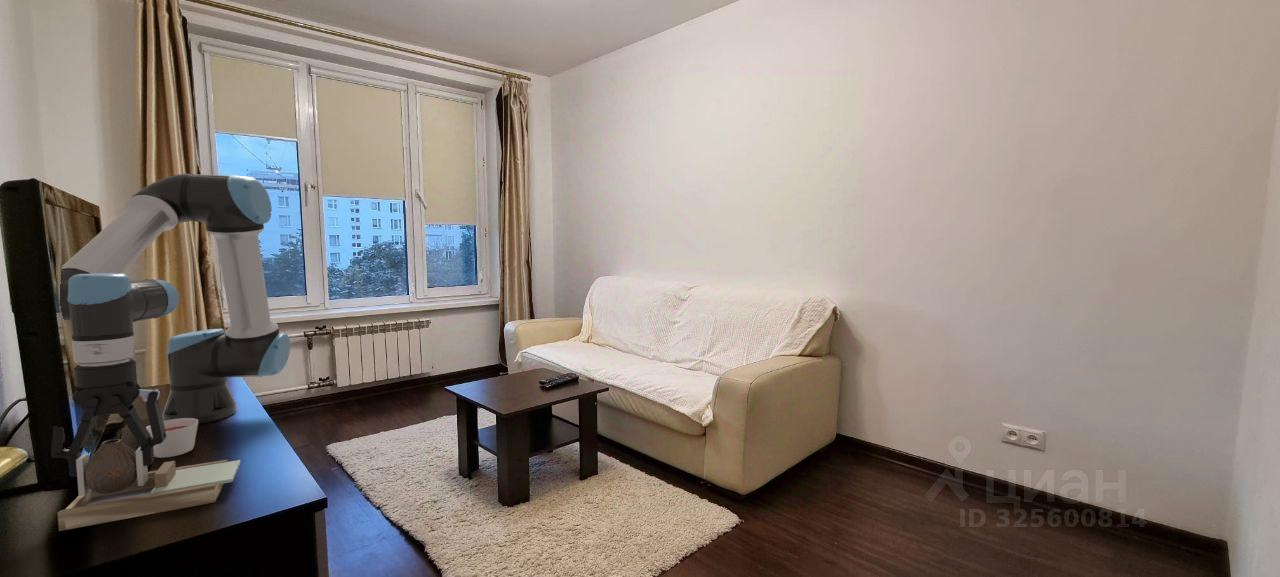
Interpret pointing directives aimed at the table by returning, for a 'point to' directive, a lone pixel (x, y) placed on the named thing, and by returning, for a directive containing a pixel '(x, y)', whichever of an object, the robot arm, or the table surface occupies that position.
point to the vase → (111, 467)
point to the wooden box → (134, 502)
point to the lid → (193, 476)
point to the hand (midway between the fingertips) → (114, 487)
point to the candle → (176, 437)
